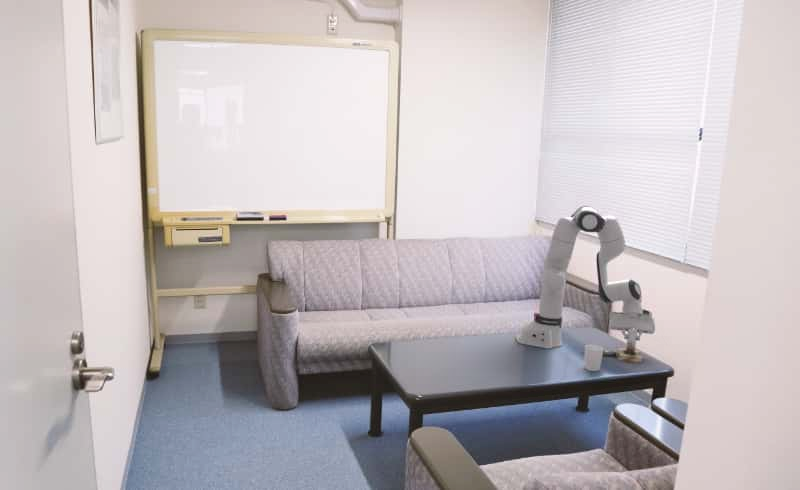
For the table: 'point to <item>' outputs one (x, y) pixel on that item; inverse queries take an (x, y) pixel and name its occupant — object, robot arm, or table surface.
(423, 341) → the table surface
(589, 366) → the white cup
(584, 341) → the table surface
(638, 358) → the socket block
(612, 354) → the pin
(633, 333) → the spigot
